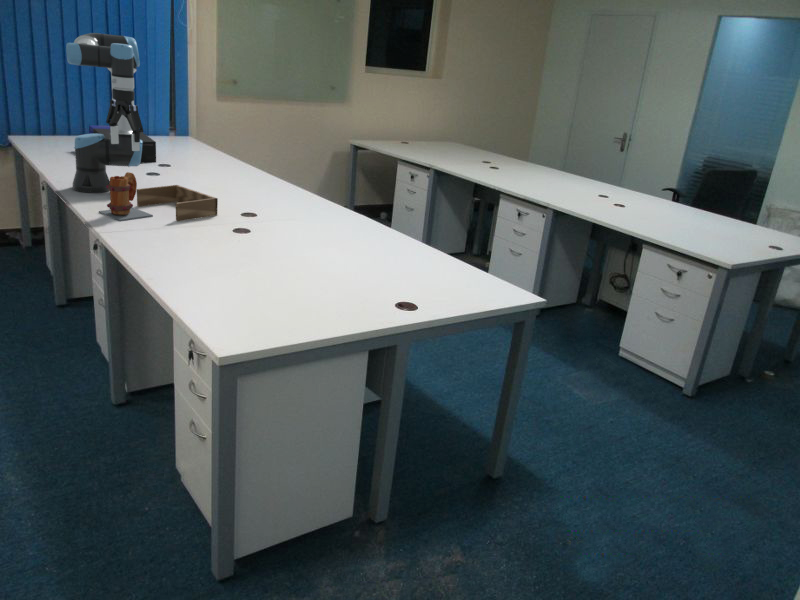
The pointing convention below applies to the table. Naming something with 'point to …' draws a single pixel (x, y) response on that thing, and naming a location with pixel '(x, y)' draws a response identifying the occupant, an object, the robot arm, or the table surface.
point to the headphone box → (147, 144)
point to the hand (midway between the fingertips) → (125, 147)
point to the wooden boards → (189, 201)
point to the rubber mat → (132, 215)
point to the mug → (122, 193)
